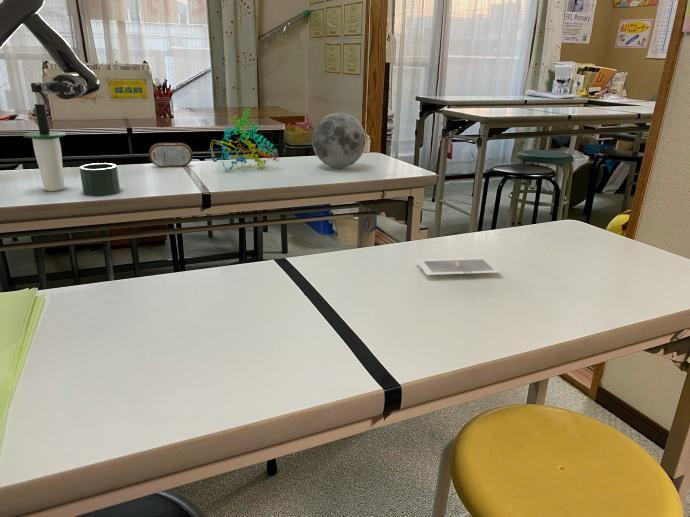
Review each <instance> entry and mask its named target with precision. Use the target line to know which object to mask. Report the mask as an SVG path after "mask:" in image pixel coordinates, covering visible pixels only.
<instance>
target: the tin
mask: <svg viewBox="0 0 690 517" xmlns="http://www.w3.org/2000/svg"><path fill="white" fill-rule="evenodd" d="M193 155H194V154H193V150H192V149H191V147H190V146H189V145H188V144H187V143H183V142H157V143H155V144H153V145H151V147H150V148H149V151H148V156H149V160H150V162H151V163H152V164H153V165H154V166H156V167H159V168H171V167H172V168H174V167H181V168H182V167H186V166H188V165H189V164H190V163H191V162H192V161H193Z"/></svg>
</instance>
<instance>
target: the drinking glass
mask: <svg viewBox="0 0 690 517" xmlns="http://www.w3.org/2000/svg"><path fill="white" fill-rule="evenodd" d="M32 147H33V151H34V155H35V159H36V163H37V166H38V169H39V170H38V171H39V173H40V176H41V180H42V184H43V189H44V190H45V191H47V192H57V191H62V190H64V189H65V179H64V168H63V154H62V145H61V141H60V137H59V138H55V139H32Z"/></svg>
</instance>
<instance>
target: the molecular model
mask: <svg viewBox="0 0 690 517" xmlns="http://www.w3.org/2000/svg"><path fill="white" fill-rule="evenodd" d="M250 113H251V111H250V109H249V108H246V109H244V111H243V113H242V117H241V119H236V118H237V115H236V114H234V116H231V117H230V118H229V119H230V121H231V122H232V123H234V125H235V126H234V127H233V126H231V127H229V129H227V128H223V130H222V131H223V133H224V134H223V138H222V139H221V140H217V139H212V140H211V142H210V144H211V145H209V148H208V149H207V150H208V151H209V152H210V157H211V159H212V162H215V163H216V162H217V161H218V160H221V161H222V165H223V167H224V169H225V171H226V172H229V171H231V170H232V169H233V168H235V167H236V168H237V169H239V170H240V169H241V168H244V169H246V168H249V167H251V166H252V164H249V165H244V164H247V161H249V160H251V161H252V160H254V162H255V163H257V164H256V166H257V168H258V169H259V170H261V169H263V168H264V166H265V165H266V164H267V162H269V161H270V160H272V161H275V162H279V160H280V158H279V157H277V151H278V149H272V148H273V147H274V146H275V145H274V144H273V143H271V141H269V140H268V139H267V138H266V137H265V138H264V135H260V134H257V132H258V131H259V130H258V129H261V128H262V126H261V125H259V124H257V123H254V122H252V123H250V124H249V122H250V121H249V120H248V118H249V117H250V118H251V120H252V121H254V119H253V117H252V116H251V114H250ZM235 119H236V120H235ZM243 122H244V123H243ZM245 126H247V127H250V128H248V129H249V131H248V130H246V128H244V127H245ZM257 128H258V129H257ZM239 134H240V136H239V139H238V136H237V137H236V136H235V138H237V140H236V141H233V140H232V139H229V138H231V136H234V135H239ZM252 135H253V136H252ZM249 139H251V140H254V142H255V143H253V142H252V141H251V140H249ZM232 143H235V144H237V147H236V146H235V145H233V144H232ZM258 143H259V144H258ZM214 144H216V145H217V146H218V145H220V146H221V147H220V148H214V150H215V151H219V150H222V154H221V157H218V158H216V159H215V158H214V157H215V156H216V155H215V153H214V150H213V147H212V146H213V145H214ZM242 145H243V146H242ZM244 145H245V146H247V147H248V149H247V148H245V147H244ZM228 146H229V147H228ZM256 146H257V148H256ZM265 146H266V148H264V147H265ZM230 147H232V148H234V150H232V149H231V148H230ZM237 149H238V151H241V152H242V153H243V156H242V157H239V155H238V154H239V152H238V151H237ZM268 149H270V150H271V151H272V152H271V151H270V150H268ZM226 150H227V151H226ZM248 151H249V152H251V153H249V152H248ZM234 152H235V153H236V154H235V155H233V159H235V161H234V160H233V161H231V166H230V167H229V169H227V168H226V166H225V163H224V160H228V161H230V160H231V157H230V156H232V154H233V153H234ZM246 153H247V154H246ZM273 154H274V156H273V158H271V155H273ZM223 155H224V156H223ZM259 155H260V156H262V157H264V158H265V159H264V160H263V159H262V158H261V157H259ZM267 159H268V160H267ZM239 162H240V163H241V165H242V166H240V167H238V163H239ZM243 163H244V164H243Z"/></svg>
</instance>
